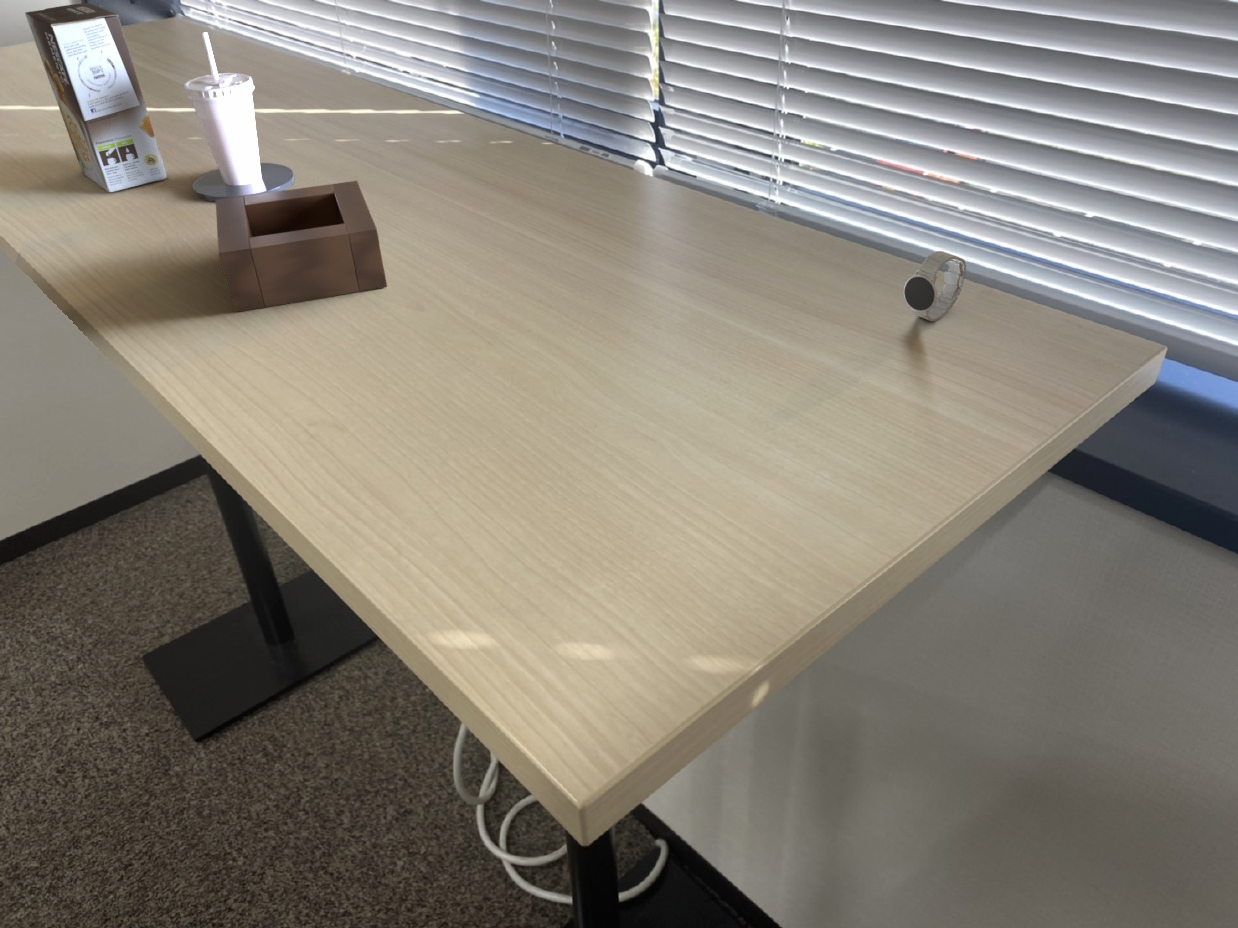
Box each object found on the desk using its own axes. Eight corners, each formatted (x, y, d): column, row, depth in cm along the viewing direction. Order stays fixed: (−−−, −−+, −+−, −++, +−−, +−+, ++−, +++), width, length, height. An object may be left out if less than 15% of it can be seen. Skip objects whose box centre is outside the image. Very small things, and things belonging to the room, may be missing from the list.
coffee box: (170, 178, 102) (121, 13, 92) (108, 194, 98) (50, 24, 89) (138, 158, 107) (88, 0, 98) (78, 172, 104) (20, 10, 95)
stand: (235, 312, 76) (218, 253, 74) (230, 254, 86) (215, 199, 83) (387, 287, 80) (377, 229, 77) (367, 233, 89) (357, 180, 86)
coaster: (194, 208, 95) (192, 202, 94) (193, 175, 102) (192, 170, 102) (299, 194, 97) (297, 188, 97) (291, 163, 105) (289, 157, 105)
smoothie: (263, 164, 103) (229, 22, 95) (283, 181, 99) (250, 34, 91) (202, 177, 100) (162, 32, 92) (220, 194, 96) (179, 44, 88)
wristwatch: (897, 320, 73) (907, 258, 70) (935, 299, 76) (946, 239, 73) (930, 333, 71) (942, 271, 68) (967, 312, 74) (981, 250, 71)
